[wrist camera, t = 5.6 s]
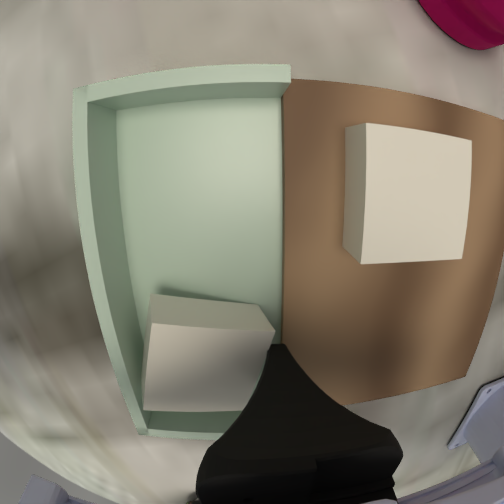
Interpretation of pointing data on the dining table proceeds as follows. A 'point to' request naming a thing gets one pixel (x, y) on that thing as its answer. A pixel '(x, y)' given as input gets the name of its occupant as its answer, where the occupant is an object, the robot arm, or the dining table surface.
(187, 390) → the tile
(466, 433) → the robot arm
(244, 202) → the tray
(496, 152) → the board
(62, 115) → the dining table surface
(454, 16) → the pepper mill
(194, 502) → the beverage can
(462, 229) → the tile
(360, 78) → the dining table surface
